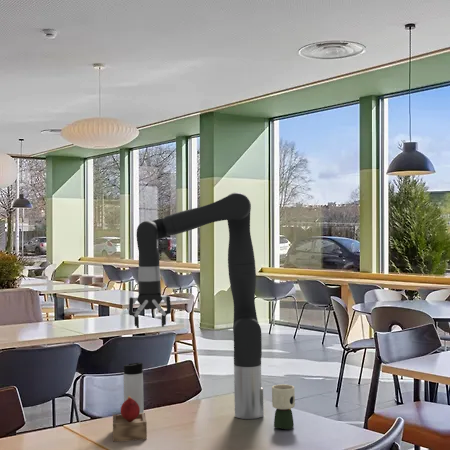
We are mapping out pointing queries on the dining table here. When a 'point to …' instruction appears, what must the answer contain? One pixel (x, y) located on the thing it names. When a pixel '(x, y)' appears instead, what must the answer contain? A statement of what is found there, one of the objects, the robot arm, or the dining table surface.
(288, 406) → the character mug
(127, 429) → the base
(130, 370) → the travel mug
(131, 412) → the onion
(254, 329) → the robot arm
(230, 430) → the dining table surface
